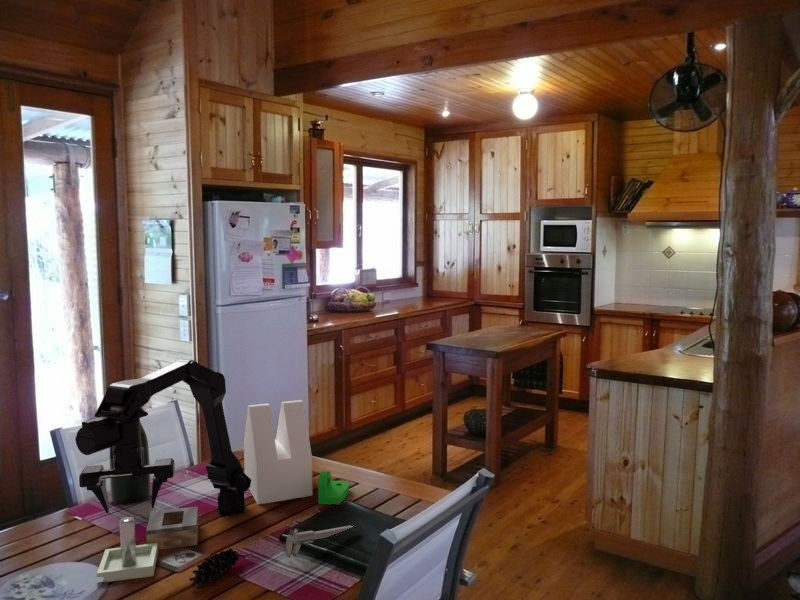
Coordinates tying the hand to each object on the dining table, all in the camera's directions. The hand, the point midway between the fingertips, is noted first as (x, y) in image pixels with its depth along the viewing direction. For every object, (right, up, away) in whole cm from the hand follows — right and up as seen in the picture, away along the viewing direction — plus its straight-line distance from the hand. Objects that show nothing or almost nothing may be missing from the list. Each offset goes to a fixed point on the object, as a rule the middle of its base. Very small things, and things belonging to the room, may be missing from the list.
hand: (130, 510), depth 141 cm
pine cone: (+25, -16, +2) cm, 29 cm away
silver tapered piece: (0, -12, 0) cm, 12 cm away
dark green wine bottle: (-16, -10, +39) cm, 43 cm away
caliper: (+41, -13, +10) cm, 45 cm away
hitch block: (+4, -11, +14) cm, 19 cm away
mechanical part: (+41, -9, +40) cm, 58 cm away
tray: (0, -13, 0) cm, 13 cm away
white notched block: (+23, -9, +46) cm, 52 cm away
